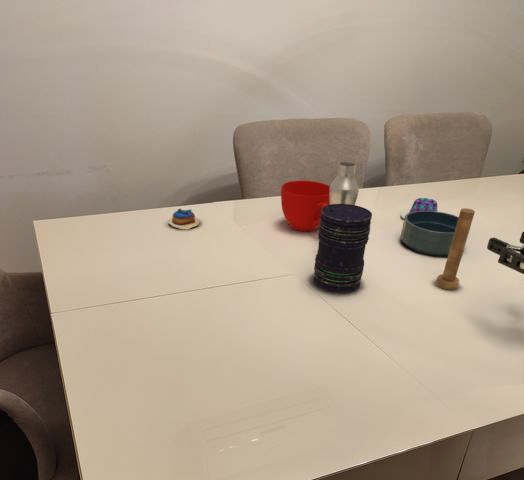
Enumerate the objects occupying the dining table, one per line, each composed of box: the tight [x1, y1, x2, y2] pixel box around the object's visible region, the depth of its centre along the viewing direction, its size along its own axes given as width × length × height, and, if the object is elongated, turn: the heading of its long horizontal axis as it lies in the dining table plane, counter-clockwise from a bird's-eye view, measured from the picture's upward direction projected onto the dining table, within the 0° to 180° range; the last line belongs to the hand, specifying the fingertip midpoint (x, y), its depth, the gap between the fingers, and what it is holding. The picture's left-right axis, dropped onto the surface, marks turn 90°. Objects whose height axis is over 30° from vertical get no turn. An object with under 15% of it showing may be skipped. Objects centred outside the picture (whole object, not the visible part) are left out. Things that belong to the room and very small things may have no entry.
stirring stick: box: [435, 207, 475, 291], centre depth 101 cm, size 4×4×16 cm
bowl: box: [399, 210, 471, 257], centre depth 122 cm, size 15×15×6 cm
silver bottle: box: [329, 161, 360, 205], centre depth 111 cm, size 6×7×20 cm
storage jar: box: [313, 204, 373, 294], centre depth 100 cm, size 10×10×15 cm
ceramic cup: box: [280, 180, 330, 232], centre depth 125 cm, size 13×17×10 cm
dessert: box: [168, 208, 200, 230], centre depth 127 cm, size 8×7×6 cm
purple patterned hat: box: [400, 197, 438, 219], centre depth 137 cm, size 12×12×5 cm
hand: (506, 239), depth 90 cm, fingers open, 8 cm apart
